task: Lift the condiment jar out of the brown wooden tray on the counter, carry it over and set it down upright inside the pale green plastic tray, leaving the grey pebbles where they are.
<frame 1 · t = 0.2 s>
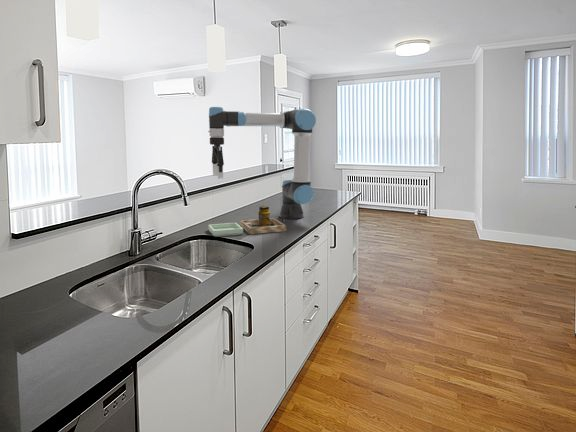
hand: (217, 177, 219), 28 cm above the counter, tool pointing down, fingers open, 13 cm apart
pebble b: (277, 229, 219), resting in brown wooden tray
condiment: (262, 228, 222), resting in brown wooden tray
pebble a: (248, 227, 224), resting in brown wooden tray
brown wooden tray: (262, 228, 222), on the counter
green tray: (225, 232, 212), on the counter
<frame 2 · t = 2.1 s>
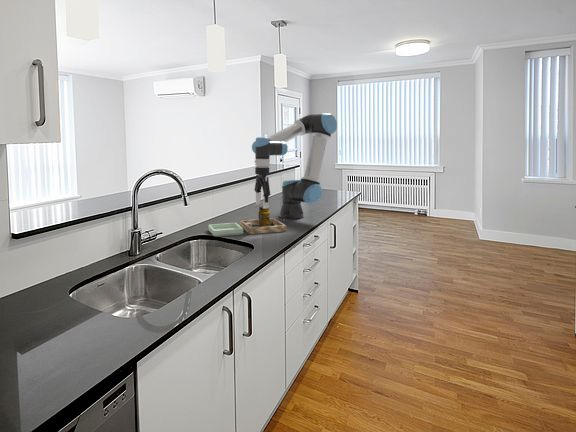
hand: (261, 206, 219), 12 cm above the counter, tool pointing down, fingers open, 13 cm apart
nothing on the counter moved.
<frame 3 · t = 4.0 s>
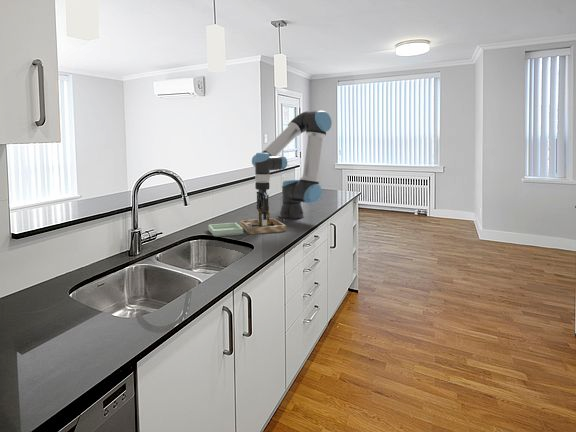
hand: (262, 223, 221), 2 cm above the counter, tool pointing down, fingers closed on condiment, 6 cm apart
condiment: (262, 228, 222), resting in brown wooden tray, touching gripper
everything else where it was.
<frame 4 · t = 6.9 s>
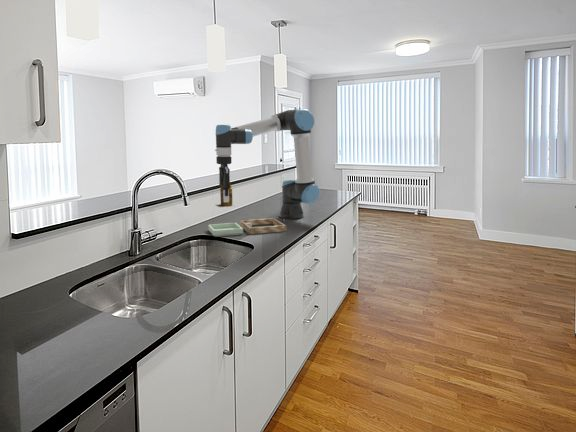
hand: (224, 201, 209), 16 cm above the counter, tool pointing down, fingers closed on condiment, 6 cm apart
condiment: (224, 206, 210), point 14 cm above the counter, touching gripper
everything else where it was.
when the fingers open (5 cm above the counter, at t = 9.7 s): condiment drops 1 cm, resting on green tray.
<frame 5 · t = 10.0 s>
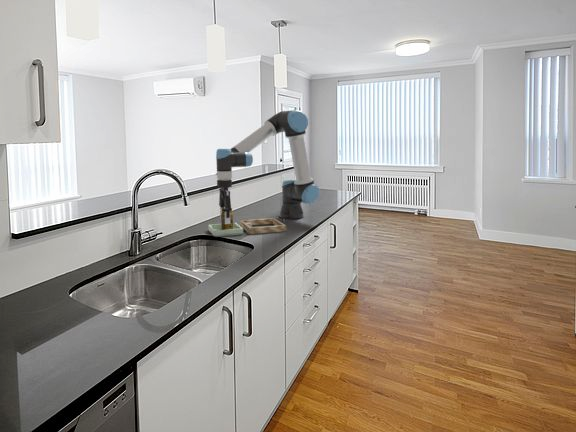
hand: (225, 221, 211), 6 cm above the counter, tool pointing down, fingers open, 10 cm apart
condiment: (225, 231, 212), point 1 cm above the counter, touching green tray
everything else where it was.
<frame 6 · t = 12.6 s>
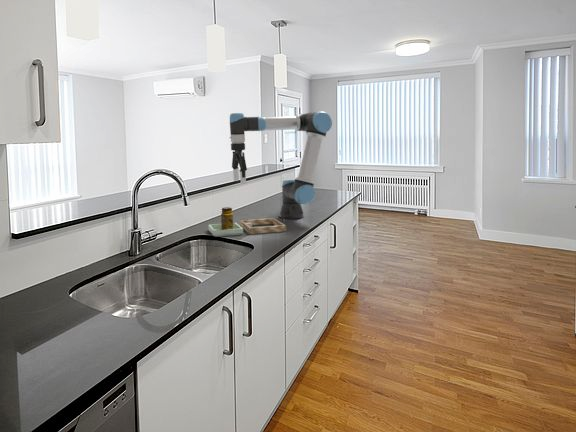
hand: (239, 182, 222), 25 cm above the counter, tool pointing down, fingers open, 13 cm apart
nothing on the counter moved.
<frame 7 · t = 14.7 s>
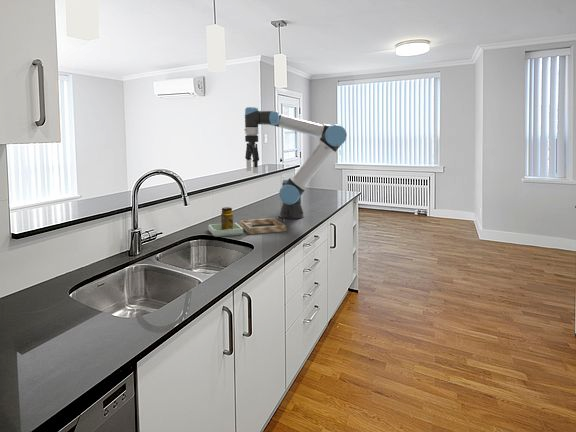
hand: (252, 172, 237), 29 cm above the counter, tool pointing down, fingers open, 13 cm apart
nothing on the counter moved.
at the end: condiment inside the target area on the green tray (0.1 cm from its centre), point 0.6 cm above the green tray's base; condiment tilted 0°; the gripper is holding nothing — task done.
